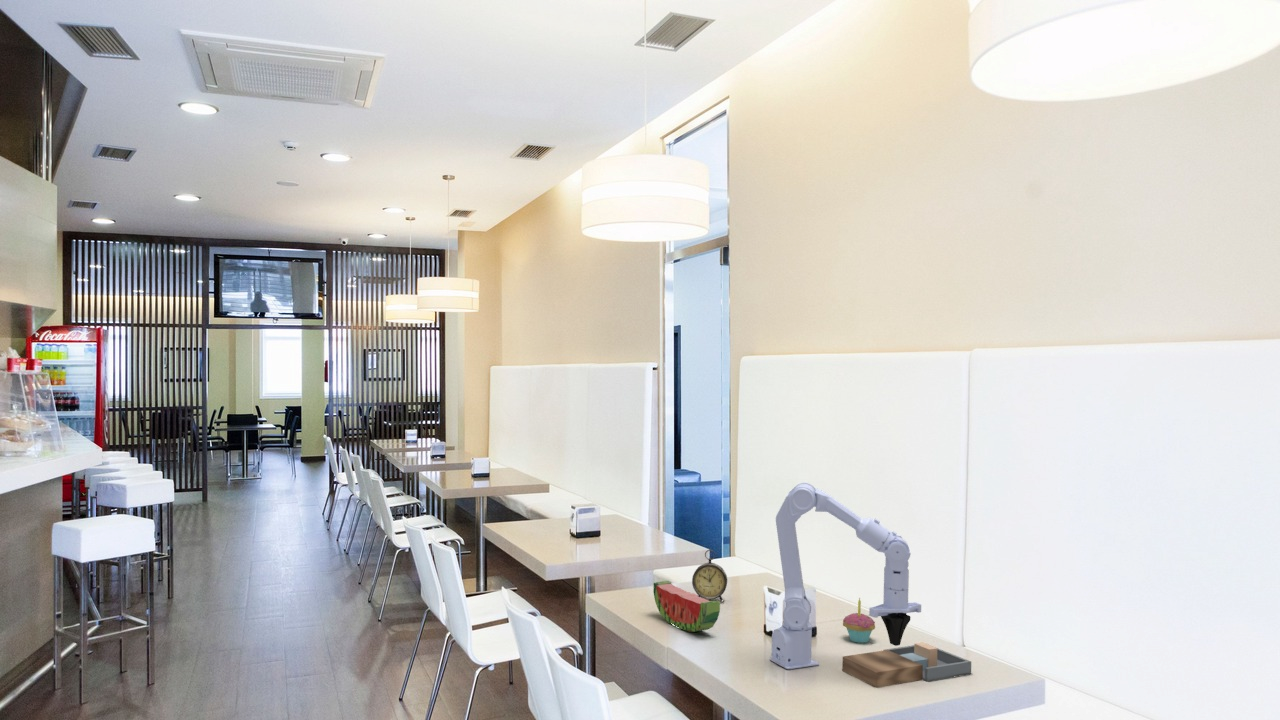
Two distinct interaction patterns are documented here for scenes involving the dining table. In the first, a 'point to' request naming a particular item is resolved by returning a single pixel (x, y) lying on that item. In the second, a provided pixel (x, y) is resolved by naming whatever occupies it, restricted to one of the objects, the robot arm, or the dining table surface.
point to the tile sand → (926, 653)
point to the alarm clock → (709, 580)
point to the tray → (940, 664)
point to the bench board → (882, 668)
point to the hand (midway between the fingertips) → (894, 644)
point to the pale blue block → (917, 659)
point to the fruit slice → (685, 607)
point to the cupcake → (859, 626)
